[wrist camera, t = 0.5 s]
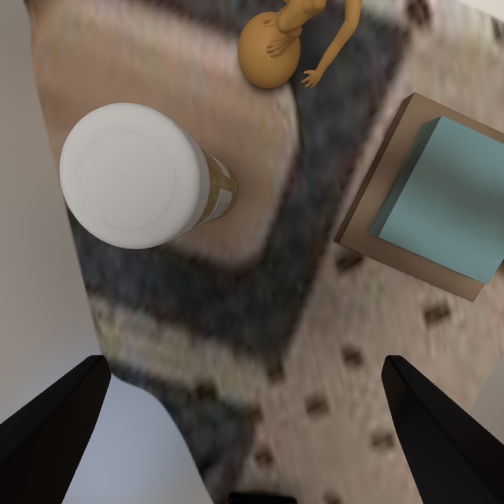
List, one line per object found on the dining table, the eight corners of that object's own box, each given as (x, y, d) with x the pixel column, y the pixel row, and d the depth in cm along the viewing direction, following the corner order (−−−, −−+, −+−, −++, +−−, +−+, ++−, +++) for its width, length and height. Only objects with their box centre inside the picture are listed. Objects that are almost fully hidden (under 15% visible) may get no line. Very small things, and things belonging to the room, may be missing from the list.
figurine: (231, 6, 20) (181, -286, 8) (319, -12, 19) (408, -347, 7) (249, 132, 21) (231, 49, 9) (331, 119, 21) (422, 13, 9)
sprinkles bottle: (227, 151, 21) (169, 76, 8) (245, 210, 22) (218, 229, 9) (170, 169, 22) (27, 126, 9) (190, 227, 22) (85, 268, 9)
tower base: (459, 295, 23) (494, 313, 19) (334, 240, 22) (346, 248, 19) (540, 163, 21) (595, 156, 17) (403, 99, 20) (432, 79, 17)
